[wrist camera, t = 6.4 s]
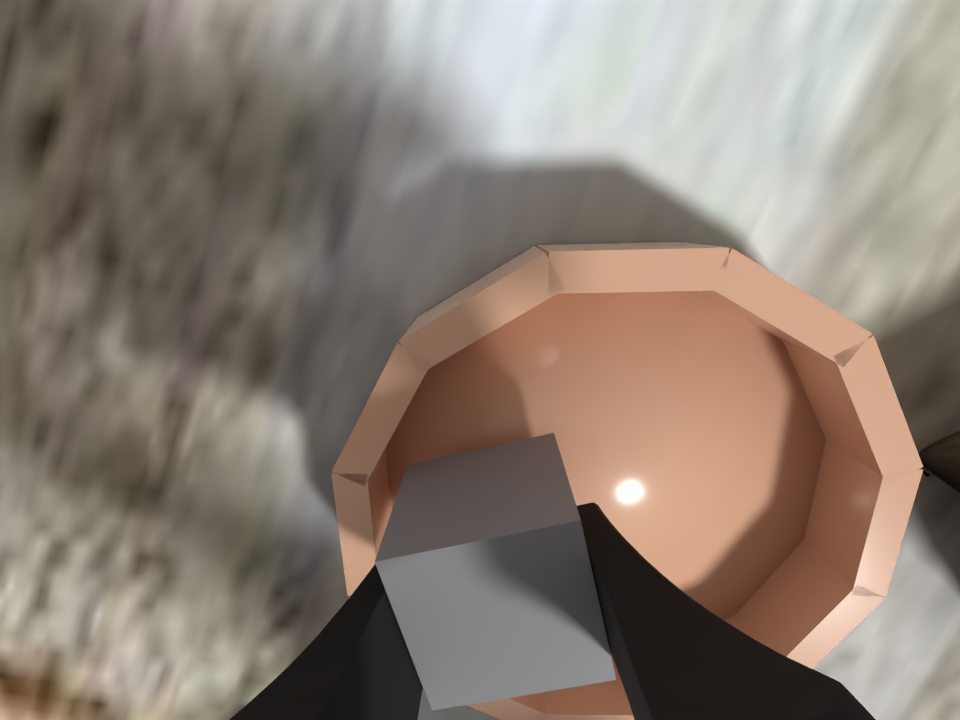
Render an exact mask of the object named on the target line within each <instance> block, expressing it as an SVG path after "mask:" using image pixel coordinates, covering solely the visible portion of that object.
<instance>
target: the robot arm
mask: <svg viewBox="0 0 960 720" xmlns="http://www.w3.org/2000/svg"><path fill="white" fill-rule="evenodd" d="M577 509H578V513H579V516H580V519H581V523H582V528H583V532H584V537H585V541H586V546H587V550H588V555H589V559H590V564H591V568H592V573H593V577H594V582H595V586H596V591H597V595H598V600H599V604H600V609H601V613H602V618H603V622H604V627H605V631H606V636H607V640H608V645H609V648H610V651H611V654H612V656H613V659H614V662H615V665H616V667H617V670H618V673H619V676H620V678H621V681H622V684H623V687H624V689H625V692H626V695H627V698H628V701H629V704H630V707H631V710H632V713H633V716H634V720H875V719H874V718H873V716H872V715H871V714H870V713H869V712H868V711H867V710H866V709H865V708H864V707H863V706H862V705H861V704H860V702H859V701H858V700H857V699H856V698H855V697H854V696H853V695H852V694H851V693H850V692H849V691H848V690H847V689H846V688H845V687H844V686H843V685H842V684H841V683H840V682H838V681H836V680H834V679H832V678H830V677H828V676H826V675H824V674H822V673H819V672H817V671H815V670H813V669H811V668H809V667H807V666H805V665H803V664H800V663H798V662H796V661H794V660H792V659H790V658H788V657H786V656H784V655H782V654H780V653H778V652H776V651H774V650H773V649H771V648H769V647H767V646H765V645H764V644H762V643H760V642H758V641H756V640H755V639H753V638H751V637H750V636H748V635H747V634H745V633H743V632H742V631H740V630H739V629H737V628H735V627H734V626H732V625H731V624H729V623H727V622H726V621H724V620H723V619H721V618H719V617H718V616H716V615H715V614H713V613H712V612H710V611H709V610H708V609H706V608H705V607H703V606H702V605H701V604H699V603H698V602H696V601H695V600H694V599H692V598H691V597H690V596H688V595H687V594H686V593H685V592H683V591H682V590H681V589H679V588H678V587H677V586H676V585H674V584H673V583H672V582H671V581H670V580H668V579H667V578H666V577H665V576H664V575H662V574H661V573H660V572H659V571H658V570H657V569H656V568H655V567H654V566H652V565H651V564H650V563H649V562H648V561H647V560H646V559H645V558H644V557H643V556H642V555H641V554H640V553H639V552H638V551H637V550H636V549H635V548H634V547H633V546H632V545H631V544H630V543H629V542H628V541H627V540H626V539H625V538H624V537H623V536H622V535H621V534H620V532H619V531H618V530H617V529H616V528H615V527H614V526H613V524H612V523H611V522H610V521H609V519H608V518H607V517H606V516H605V514H604V513H603V512H602V510H601V509H600V507H599V505H597V504H596V503H594V502H592V503H587V504H582V505H577ZM422 689H423V686H422V684H421V681H420V678H419V676H418V673H417V671H416V668H415V665H414V663H413V660H412V658H411V655H410V652H409V650H408V647H407V645H406V642H405V640H404V637H403V634H402V632H401V629H400V627H399V624H398V621H397V619H396V616H395V614H394V611H393V608H392V606H391V603H390V601H389V598H388V595H387V593H386V590H385V588H384V585H383V582H382V580H381V577H380V575H379V572H378V570H377V567H376V564H375V565H374V566H373V567H372V569H371V570H370V571H369V573H368V574H367V575H366V577H365V578H364V579H363V581H362V582H361V583H360V585H359V586H358V587H357V588H356V590H355V591H354V592H353V594H352V595H351V596H350V598H349V599H348V600H347V601H346V603H345V604H344V605H343V606H342V607H341V609H340V610H339V611H338V612H337V613H336V615H335V616H334V617H333V618H332V619H331V621H330V622H329V623H328V624H327V625H326V627H325V628H324V629H323V630H322V631H321V633H320V634H319V635H318V636H317V637H316V638H315V639H314V640H313V641H312V643H311V644H310V645H309V646H308V647H307V648H306V649H305V650H304V651H303V652H302V653H301V654H300V655H299V656H298V657H297V658H296V659H295V660H294V661H293V662H292V663H291V664H290V665H289V666H288V667H287V668H286V669H285V670H284V671H283V672H282V673H281V674H280V675H279V676H278V677H277V678H276V679H275V680H274V681H273V682H272V683H270V684H269V685H268V686H267V687H266V688H265V689H264V690H263V691H262V692H261V693H259V694H258V695H257V696H256V697H255V698H254V699H253V700H252V701H251V702H250V703H248V704H247V705H246V706H245V707H244V708H243V709H242V710H240V711H239V712H238V713H237V714H236V715H234V716H233V717H232V718H231V719H230V720H417V718H418V712H419V706H420V700H421V694H422Z"/></svg>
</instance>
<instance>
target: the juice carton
mask: <svg viewBox="0 0 960 720" xmlns="http://www.w3.org/2000/svg"><path fill="white" fill-rule="evenodd" d="M919 457H920V459H921V462H922V465H923V467H924V468H926V469H928V470H929V471H931V472H932V473H933V474H935V475H936V476H937V477H939V478H940V479H941V480H943V481H944V482H945V483H947V484H948V485H950V486H951V487H952V488H954V489H955V490H957V491H958V492H959V493H960V431H959V432H956V433H954V434H952V435H950V436H948V437H946V438H944V439H942V440H940V441H938V442H935V443H934V444H932V445H930V446H928V447H927V448H925V449H924V450H922V451H921V452H920V453H919ZM923 473H924V474H925V476H927V477H928V476H930V475H929V474H927V473H926V472H924V471H923Z"/></svg>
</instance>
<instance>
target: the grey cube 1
mask: <svg viewBox="0 0 960 720" xmlns="http://www.w3.org/2000/svg"><path fill="white" fill-rule="evenodd" d="M375 564H376V567H377V570H378V572H379V575H380V577H381V580H382V582H383V585H384V588H385V590H386V593H387V595H388V598H389V601H390V603H391V606H392V608H393V611H394V614H395V616H396V619H397V621H398V624H399V627H400V629H401V632H402V634H403V637H404V640H405V642H406V645H407V647H408V650H409V652H410V655H411V658H412V660H413V663H414V665H415V668H416V671H417V673H418V676H419V678H420V681H421V684H422V686H423V689H424V691H425V694H426V697H427V699H428V702H429V704H430V707H431V710H432V711H435V710H441V709H446V708H452V707H458V706H464V705H470V704H476V703H482V702H488V701H494V700H500V699H506V698H512V697H518V696H524V695H530V694H536V693H542V692H547V691H553V690H559V689H565V688H571V687H577V686H583V685H589V684H595V683H601V682H607V681H613V680H616V676H615V671H614V667H613V662H612V658H611V653H610V649H609V645H608V640H607V636H606V631H605V627H604V622H603V618H602V613H601V609H600V604H599V600H598V595H597V591H596V586H595V582H594V577H593V573H592V568H591V564H590V559H589V555H588V550H587V546H586V541H585V537H584V532H583V528H582V523H581V519H580V516H579V513H578V509H577V506H576V503H575V500H574V496H573V493H572V490H571V487H570V483H569V480H568V477H567V474H566V470H565V467H564V464H563V460H562V457H561V454H560V451H559V447H558V444H557V441H556V438H555V434H554V433H550V434H545V435H541V436H536V437H532V438H527V439H522V440H518V441H513V442H509V443H504V444H500V445H495V446H491V447H486V448H482V449H477V450H472V451H468V452H463V453H459V454H454V455H450V456H445V457H441V458H436V459H431V460H427V461H422V462H418V463H413V464H409V465H407V467H406V470H405V473H404V476H403V479H402V482H401V485H400V488H399V491H398V493H397V496H396V499H395V502H394V505H393V508H392V511H391V514H390V517H389V520H388V523H387V526H386V529H385V532H384V535H383V538H382V541H381V544H380V547H379V550H378V553H377V556H376V559H375Z"/></svg>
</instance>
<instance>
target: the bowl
mask: <svg viewBox="0 0 960 720" xmlns="http://www.w3.org/2000/svg"><path fill="white" fill-rule="evenodd" d="M871 334H872V333H871V332H869V331H867V330H866V329H864V328H862V327H861V326H859V325H857V324H856V323H854V322H853V321H851V320H849V319H848V318H846V317H844V316H843V315H841V314H839V313H838V312H836V311H835V310H833V309H831V308H830V307H828V306H826V305H825V304H823V303H821V302H820V301H818V300H817V299H815V298H813V297H812V296H810V295H808V294H807V293H805V292H803V291H802V290H800V289H798V288H797V287H795V286H794V285H792V284H790V283H789V282H787V281H785V280H784V279H782V278H780V277H779V276H777V275H776V274H774V273H772V272H771V271H769V270H767V269H766V268H764V267H762V266H761V265H759V264H758V263H756V262H754V261H753V260H751V259H749V258H748V257H746V256H744V255H743V254H741V253H740V252H738V251H736V250H735V249H733V248H729V247H720V246H711V245H703V244H694V243H685V242H647V243H601V244H556V245H537V247H535V246H533V247H531V248H530V249H528V250H526V251H525V252H523V253H521V254H520V255H518V256H516V257H515V258H513V259H512V260H510V261H508V262H507V263H505V264H503V265H502V266H500V267H498V268H497V269H495V270H493V271H492V272H490V273H489V274H487V275H485V276H484V277H482V278H480V279H479V280H477V281H475V282H474V283H472V284H471V285H469V286H467V287H466V288H464V289H462V290H461V291H459V292H457V293H456V294H454V295H453V296H451V297H449V298H448V299H446V300H444V301H443V302H441V303H439V304H438V305H436V306H435V307H433V308H431V309H430V310H428V311H426V312H425V313H423V314H421V315H420V316H418V317H417V318H416V319H415V320H414V322H413V323H412V324H411V326H410V327H409V328H408V329H407V331H406V332H405V333H404V335H403V336H402V337H401V339H400V340H399V341H398V342H397V344H396V346H395V348H394V350H393V352H392V354H391V356H390V358H389V360H388V362H387V364H386V366H385V367H384V369H383V371H382V373H381V375H380V377H379V379H378V381H377V383H376V385H375V387H374V389H373V391H372V393H371V395H370V397H369V399H368V401H367V403H366V405H365V407H364V409H363V411H362V413H361V415H360V416H359V418H358V420H357V422H356V424H355V426H354V428H353V430H352V432H351V434H350V436H349V438H348V440H347V442H346V444H345V446H344V448H343V450H342V452H341V454H340V456H339V458H338V460H337V462H336V464H335V465H334V467H333V469H332V473H331V477H332V484H333V492H334V499H335V507H336V514H337V522H338V529H339V537H340V544H341V552H342V559H343V567H344V574H345V582H346V589H347V596H349V597H348V598H350V596H351V595H352V594H353V592H354V591H355V590H356V588H357V587H358V586H359V585H360V583H361V582H362V581H363V579H364V578H365V577H366V575H367V574H368V573H369V571H370V570H371V569H372V567H373V566H374V565H375V559H376V556H377V553H378V550H379V547H380V544H381V541H382V538H383V535H384V532H385V529H386V526H387V523H388V520H389V517H390V514H391V511H392V508H393V505H394V502H395V499H396V496H397V493H398V491H399V488H400V485H401V482H402V479H403V476H404V473H405V470H406V467H407V465H409V464H413V463H418V462H422V461H427V460H431V459H436V458H441V457H445V456H450V455H454V454H459V453H463V452H468V451H472V450H477V449H482V448H486V447H491V446H495V445H500V444H504V443H509V442H513V441H518V440H522V439H527V438H532V437H536V436H541V435H545V434H550V433H554V434H555V438H556V441H557V444H558V447H559V451H560V454H561V457H562V460H563V464H564V467H565V470H566V474H567V477H568V480H569V483H570V487H571V490H572V493H573V496H574V500H575V503H576V506H577V505H582V504H587V503H592V502H594V503H596V504H597V505H599V507H600V509H601V510H602V512H603V513H604V514H605V516H606V517H607V518H608V519H609V521H610V522H611V523H612V524H613V526H614V527H615V528H616V529H617V530H618V531H619V532H620V534H621V535H622V536H623V537H624V538H625V539H626V540H627V541H628V542H629V543H630V544H631V545H632V546H633V547H634V548H635V549H636V550H637V551H638V552H639V553H640V554H641V555H642V556H643V557H644V558H645V559H646V560H647V561H648V562H649V563H650V564H651V565H652V566H654V567H655V568H656V569H657V570H658V571H659V572H660V573H661V574H662V575H664V576H665V577H666V578H667V579H668V580H670V581H671V582H672V583H673V584H674V585H676V586H677V587H678V588H679V589H681V590H682V591H683V592H685V593H686V594H687V595H688V596H690V597H691V598H692V599H694V600H695V601H696V602H698V603H699V604H701V605H702V606H703V607H705V608H706V609H708V610H709V611H710V612H712V613H713V614H715V615H716V616H718V617H719V618H721V619H723V620H724V621H726V622H727V623H729V624H731V625H732V626H734V627H735V628H737V629H739V630H740V631H742V632H743V633H745V634H747V635H748V636H750V637H751V638H753V639H755V640H756V641H758V642H760V643H762V644H764V645H765V646H767V647H769V648H771V649H773V650H774V651H776V652H778V653H780V654H782V655H784V656H786V657H788V658H790V659H792V660H794V661H796V662H798V663H800V664H803V665H805V666H807V667H809V668H811V669H812V668H813V667H814V666H815V665H816V664H817V663H818V662H819V661H821V660H822V659H823V658H824V657H825V656H826V655H827V654H828V653H829V652H830V651H831V650H832V649H833V648H834V647H835V646H836V645H837V644H838V643H839V642H840V641H841V640H842V639H843V638H844V637H845V636H846V635H847V634H848V633H849V632H850V631H851V630H853V629H854V628H855V627H856V626H857V625H858V624H859V623H860V622H861V621H862V620H863V619H864V618H865V617H866V616H867V615H868V614H869V613H870V612H871V611H872V610H873V609H874V608H875V607H876V606H877V605H878V604H879V603H880V602H881V601H882V600H883V599H885V598H884V597H883V596H886V595H887V591H888V588H889V585H890V581H891V578H892V575H893V571H894V568H895V564H896V561H897V558H898V554H899V551H900V547H901V544H902V541H903V537H904V534H905V530H906V527H907V524H908V520H909V517H910V513H911V510H912V507H913V503H914V500H915V496H916V493H917V490H918V486H919V483H920V480H921V476H922V473H923V469H922V467H923V465H922V462H921V459H920V457H919V454H918V451H917V449H916V446H915V443H914V441H913V438H912V435H911V433H910V430H909V427H908V425H907V422H906V419H905V417H904V414H903V411H902V409H901V406H900V404H899V401H898V398H897V396H896V393H895V390H894V388H893V385H892V382H891V380H890V377H889V374H888V372H887V369H886V366H885V364H884V361H883V358H882V356H881V353H880V350H879V348H878V345H877V342H876V340H875V337H874V336H873V335H871ZM609 649H610V648H609ZM610 653H611V651H610ZM611 658H612V662H613V667H614V671H615V676H616V680H613V681H607V682H601V683H595V684H589V685H583V686H577V687H571V688H565V689H559V690H553V691H547V692H542V693H536V694H530V695H524V696H518V697H512V698H506V699H500V700H494V701H488V702H482V703H476V704H470V705H466V706H468V707H470V708H473V709H475V710H477V711H480V712H482V713H484V714H487V715H489V716H491V717H494V718H496V719H499V720H634V716H633V713H632V710H631V707H630V704H629V701H628V698H627V695H626V692H625V689H624V687H623V684H622V681H621V678H620V676H619V673H618V670H617V667H616V665H615V662H614V659H613V656H612V654H611Z"/></svg>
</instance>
